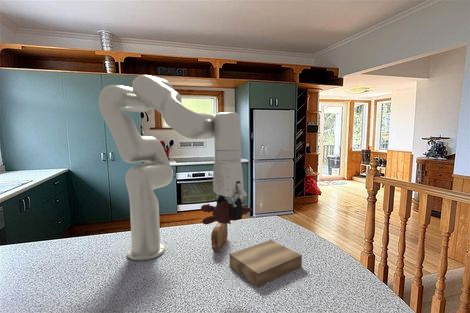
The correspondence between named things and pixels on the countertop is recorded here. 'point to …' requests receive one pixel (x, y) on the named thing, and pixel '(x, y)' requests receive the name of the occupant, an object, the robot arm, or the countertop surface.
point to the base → (265, 262)
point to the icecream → (221, 212)
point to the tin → (219, 236)
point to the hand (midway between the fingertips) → (229, 215)
